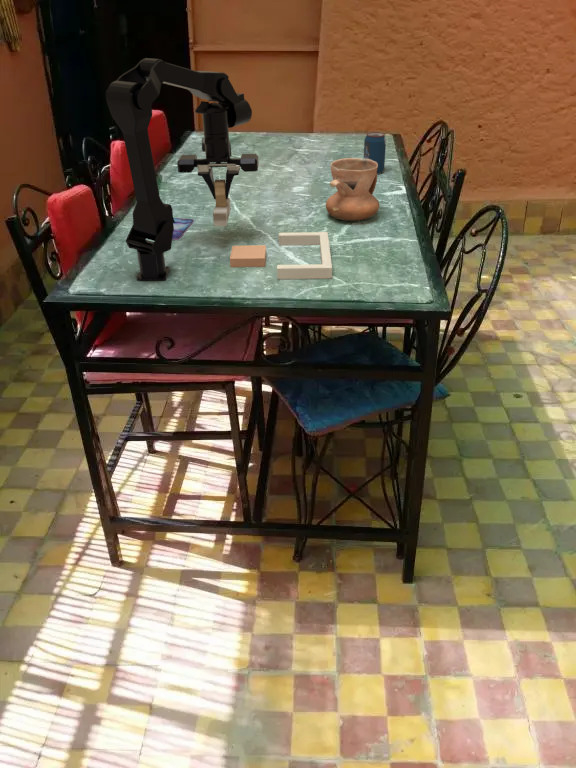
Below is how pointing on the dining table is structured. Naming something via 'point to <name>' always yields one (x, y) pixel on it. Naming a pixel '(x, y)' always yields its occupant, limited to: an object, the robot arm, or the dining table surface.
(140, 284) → the dining table surface
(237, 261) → the tile
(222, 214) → the beige t-shaped block
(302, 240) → the beige u-shaped frame
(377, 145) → the soda can
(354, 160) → the ceramic jug
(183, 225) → the smartphone
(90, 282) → the dining table surface
